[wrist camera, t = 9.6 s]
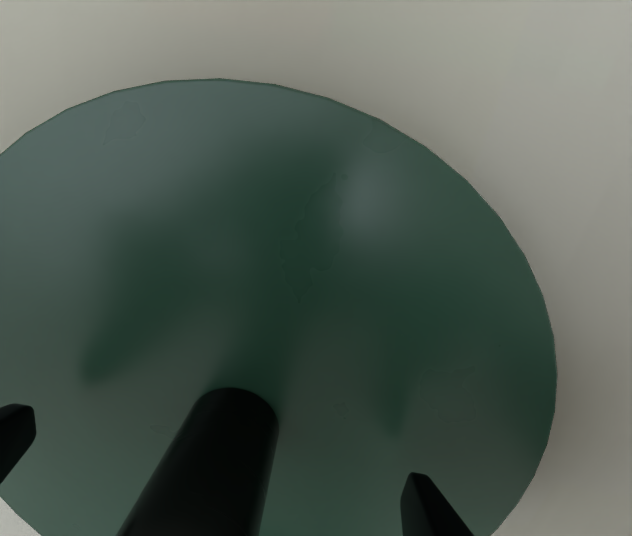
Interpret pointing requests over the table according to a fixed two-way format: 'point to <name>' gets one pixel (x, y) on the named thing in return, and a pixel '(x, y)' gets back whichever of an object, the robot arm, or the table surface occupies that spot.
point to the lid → (259, 321)
